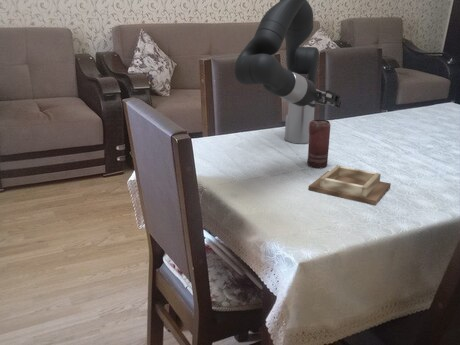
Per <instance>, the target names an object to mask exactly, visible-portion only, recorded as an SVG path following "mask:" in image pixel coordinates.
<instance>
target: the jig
mask: <svg viewBox="0 0 460 345" xmlns="http://www.w3.org/2000/svg"><path fill="white" fill-rule="evenodd" d="M391 184H392V183H389V182H387V181H381V173H379V172H373V171H368V170H363V169H357V168H352V167H349V166H348V167H347V166H343V165H338V164H337V165H336V166H334V167H333V168H331V169H330V170H327V171H326V172H325V173H323V174H322V175H320V177H318V178H317V179H315V180H314V181H313V182H311V183H310V184H309V185H308V189H307V190H308V191H312V192H316V193H320V194H324V195H328V196H334V197H338V198H342V199H347V200H351V201H356V202H359V203H364V204H368V205H372V206H376V205H377V204H378V203H379V202H380V200H381V199H382V198H383V197H384V196H385V194H387V192H388V191H389V190H390V188H391V187H392V186H391Z"/></svg>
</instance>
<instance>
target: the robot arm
mask: <svg viewBox="0 0 460 345" xmlns="http://www.w3.org/2000/svg"><path fill="white" fill-rule="evenodd" d="M313 30H314V12H313V8H312V6H311V4H310V3H309V1H308V0H279V1H278V2H276V4H274V5H273V6H271V7H270V8H269V9H268V10H267V11H266V12H265V14H264V15H263V16H262V18H261V19H260V22H259V24H258V27H257V30H256V31H255V33H254V36H253V38H251V40H250V41H249V42H248V43H247V44H246V46H245V47H244V49H243V50H242V51H241V52H240V54H239V55H238V57H237V59H236V61H235V63H234V72H233V73H234V77H235V79H236V80H237V82H238V83H239V84H241V85H246V86H251V85H252V86H253V85H262V86H263V87H264V89H265V90H266V91H268V93H271V94H273V95H275V96H277V97H279V98H281V99H282V100H284V101H286V102H288V109H287V110H288V112H287V113H286V115H285V124H284V126H285V128H284V129H285V130H284V141H287V142H290V143H293V144H300V145H301V144H302V145H303V144H309V123H310V122H311V121H312V120H315V108H316V105H322V106H325V105H329V106H332V107H333V108H336V109H340V108H341V105H342V100H340V99H341V96H340V95H339V94H337V93H335V92H332V91H331V90H325V91H322V90H320V89H317V76H318V68H319V61H320V59H319V58H320V55H319V54H320V52H319V49H318V47H316V46H301V45H302V44H303V43H304V42H305V41H307V39H308V38H309V37H310V36H311V34H312V33H313ZM284 41H285V57H286V61H285V63H286V67H284V66H283V65H282V63H280V62H279V60H278V59H277V58H276V57H275V56H273V55H275V54H277V53H278V51H280V49H281V47H282V44H283V42H284ZM303 75H307V77H305V76H303ZM322 100H323V101H322Z"/></svg>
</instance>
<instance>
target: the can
mask: <svg viewBox="0 0 460 345" xmlns="http://www.w3.org/2000/svg"><path fill="white" fill-rule="evenodd" d="M330 132H331V123H330V121H329V120H328V119H314V120H312V121H311V122H310V123H309V143H308V146H307V148H308V150H307V165H308V166H309V167H311V168H314V169H324V168H326V167H327V166H328V161H329V158H328V157H329V151H330V150H329V149H330V148H329V147H330V136H331V135H330V134H331V133H330Z"/></svg>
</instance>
